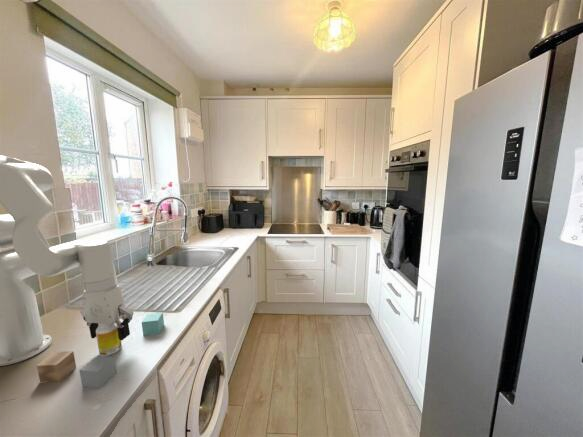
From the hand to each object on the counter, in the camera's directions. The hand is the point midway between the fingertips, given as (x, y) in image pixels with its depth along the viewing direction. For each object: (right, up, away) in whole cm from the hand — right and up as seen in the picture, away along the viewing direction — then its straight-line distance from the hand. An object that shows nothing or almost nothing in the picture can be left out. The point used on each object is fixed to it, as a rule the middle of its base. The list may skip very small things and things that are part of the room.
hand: (110, 336), depth 73 cm
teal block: (+7, -3, +11) cm, 13 cm away
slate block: (+5, -7, -10) cm, 13 cm away
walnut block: (-8, -6, -8) cm, 13 cm away
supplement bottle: (-1, -5, +1) cm, 5 cm away
